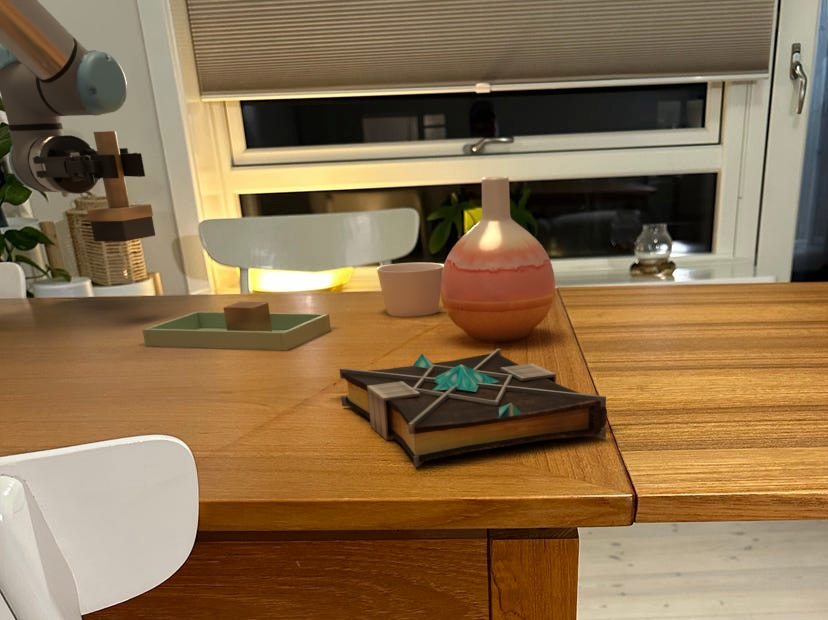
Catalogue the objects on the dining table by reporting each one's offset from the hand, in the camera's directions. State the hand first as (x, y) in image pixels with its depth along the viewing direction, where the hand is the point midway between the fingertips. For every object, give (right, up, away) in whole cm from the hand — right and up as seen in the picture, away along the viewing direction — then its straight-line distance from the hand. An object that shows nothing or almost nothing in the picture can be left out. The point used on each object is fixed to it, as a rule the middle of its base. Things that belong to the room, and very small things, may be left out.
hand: (127, 165), depth 123 cm
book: (+44, -42, -38) cm, 72 cm away
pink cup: (+36, -17, +9) cm, 41 cm away
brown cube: (+17, -24, -4) cm, 30 cm away
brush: (-3, -6, +8) cm, 11 cm away
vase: (+48, -24, -6) cm, 54 cm away
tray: (+16, -24, -4) cm, 29 cm away
